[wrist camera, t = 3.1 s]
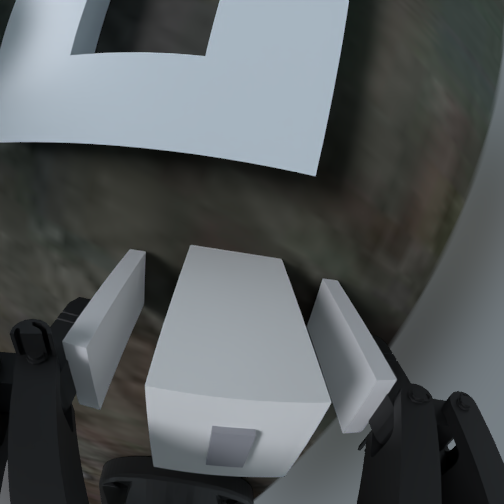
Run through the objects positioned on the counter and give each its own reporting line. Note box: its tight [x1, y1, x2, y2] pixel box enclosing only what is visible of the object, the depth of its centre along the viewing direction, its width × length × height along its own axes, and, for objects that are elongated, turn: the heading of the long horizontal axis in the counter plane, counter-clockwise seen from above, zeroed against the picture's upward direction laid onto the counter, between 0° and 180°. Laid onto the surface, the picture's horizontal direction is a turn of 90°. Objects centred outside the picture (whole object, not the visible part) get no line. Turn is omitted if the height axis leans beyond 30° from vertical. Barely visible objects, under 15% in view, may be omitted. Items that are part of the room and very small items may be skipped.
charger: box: [145, 245, 331, 477], centre depth 10 cm, size 4×4×8 cm
